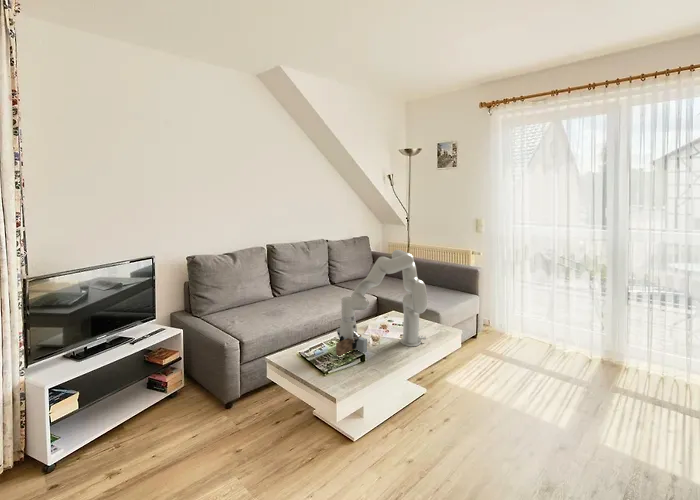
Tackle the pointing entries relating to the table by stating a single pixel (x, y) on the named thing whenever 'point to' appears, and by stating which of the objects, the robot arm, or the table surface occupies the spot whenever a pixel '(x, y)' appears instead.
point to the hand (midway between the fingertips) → (347, 346)
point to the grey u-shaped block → (361, 344)
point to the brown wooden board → (344, 346)
